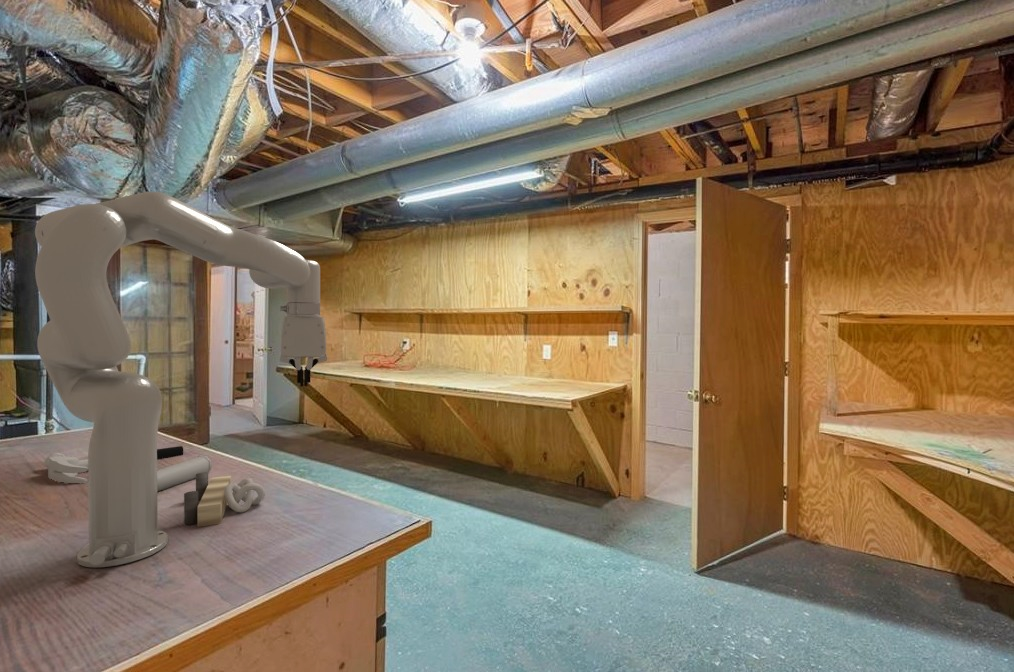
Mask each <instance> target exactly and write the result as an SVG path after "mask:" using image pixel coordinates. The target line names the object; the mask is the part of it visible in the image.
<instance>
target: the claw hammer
mask: <svg viewBox="0 0 1014 672" xmlns="http://www.w3.org/2000/svg"><path fill="white" fill-rule="evenodd" d="M180 456H184V447H183V445H179V446H172V447H171V446H170V447H165V448H163V447H162V448H157V460H163V459H169V458H175V457H180ZM44 459H45V458H44ZM43 464H44V466H45V467H46V468H47V477H48V479H49V480H51V479H52V480H51V481H53V480H56V481H59V482H58V483H60V482H64V483H63V484H68V483H80V484H81V483H84V484H85V483H86V484H87V483H88V480H87V478H84V477H81V476H80V477H79V476H78V474H81V473H86V472H88V458H86V459H79V458H78V457H76V456H66V455H64V454H63V453H61V452H55V453H52V454H51V455H48V456H47V457H46V459H45V460H44V462H43ZM75 475H76V476H75ZM56 481H55V482H56ZM80 484H79V485H80ZM84 484H83V485H84ZM86 484H85V485H86ZM81 485H82V484H81Z"/></svg>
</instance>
